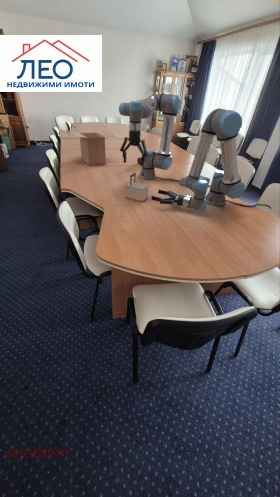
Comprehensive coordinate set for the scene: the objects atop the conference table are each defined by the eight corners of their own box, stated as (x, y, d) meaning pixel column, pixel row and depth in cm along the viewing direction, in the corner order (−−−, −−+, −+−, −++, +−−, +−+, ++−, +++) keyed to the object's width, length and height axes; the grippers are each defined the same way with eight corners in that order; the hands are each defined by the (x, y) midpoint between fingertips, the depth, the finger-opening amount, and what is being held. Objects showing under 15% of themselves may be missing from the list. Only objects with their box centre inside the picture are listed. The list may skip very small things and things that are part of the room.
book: (194, 178, 210) (195, 173, 207) (209, 183, 201) (210, 178, 198) (179, 183, 196) (180, 178, 193) (194, 189, 188) (196, 183, 185)
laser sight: (156, 166, 234) (157, 157, 228) (136, 164, 237) (136, 154, 231) (158, 164, 241) (159, 154, 236) (138, 162, 244) (138, 152, 238)
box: (116, 165, 229) (116, 136, 213) (83, 168, 214) (80, 137, 198) (102, 154, 259) (101, 128, 243) (71, 156, 244) (68, 129, 228)
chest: (125, 197, 166) (126, 186, 160) (131, 193, 173) (131, 182, 167) (142, 201, 162) (143, 190, 156) (147, 197, 169) (148, 186, 163)
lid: (125, 186, 161) (125, 174, 156) (131, 182, 168) (131, 171, 163) (143, 190, 156) (144, 178, 151) (148, 186, 163) (149, 175, 158)
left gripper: (115, 128, 142) (115, 162, 155) (150, 133, 135) (147, 168, 148) (120, 127, 148) (120, 159, 161) (155, 131, 141) (152, 166, 153)
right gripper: (177, 213, 145) (148, 205, 151) (187, 199, 164) (160, 193, 170) (179, 202, 141) (149, 195, 147) (189, 190, 159) (161, 184, 166)
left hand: (133, 164), depth 154 cm, fingers open, 13 cm apart
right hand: (155, 194), depth 159 cm, fingers open, 13 cm apart
